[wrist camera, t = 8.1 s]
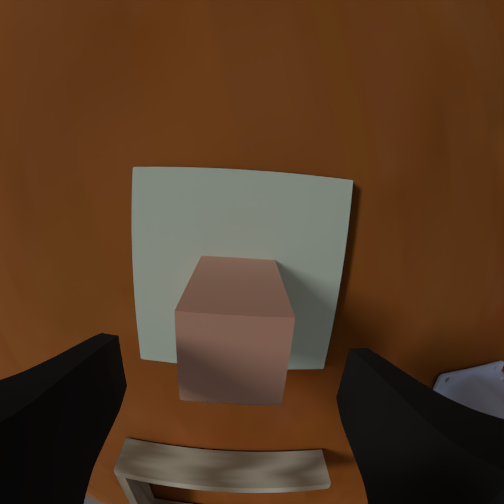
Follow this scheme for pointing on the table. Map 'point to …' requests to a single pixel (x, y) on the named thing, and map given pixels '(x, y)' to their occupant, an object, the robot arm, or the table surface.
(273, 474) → the slot housing
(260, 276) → the terracotta block
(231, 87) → the table surface
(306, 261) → the mat
